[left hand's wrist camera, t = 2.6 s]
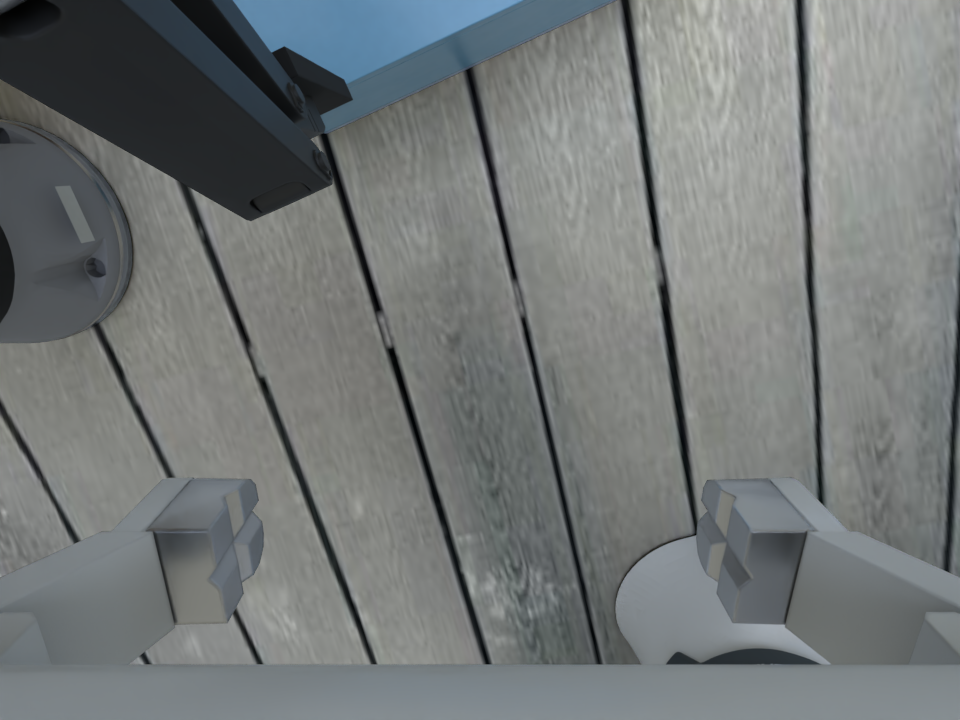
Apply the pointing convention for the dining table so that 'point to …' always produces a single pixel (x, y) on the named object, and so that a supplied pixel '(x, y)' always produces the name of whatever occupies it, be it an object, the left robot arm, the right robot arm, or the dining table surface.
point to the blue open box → (402, 40)
